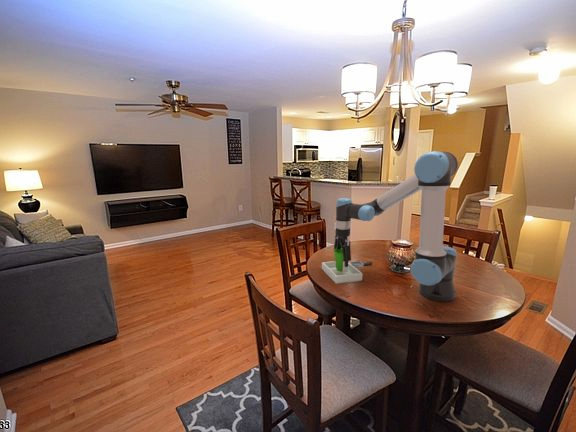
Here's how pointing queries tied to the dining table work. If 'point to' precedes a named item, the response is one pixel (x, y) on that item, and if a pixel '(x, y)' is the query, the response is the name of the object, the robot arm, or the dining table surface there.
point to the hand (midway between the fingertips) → (341, 268)
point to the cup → (339, 259)
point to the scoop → (359, 264)
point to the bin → (341, 273)
